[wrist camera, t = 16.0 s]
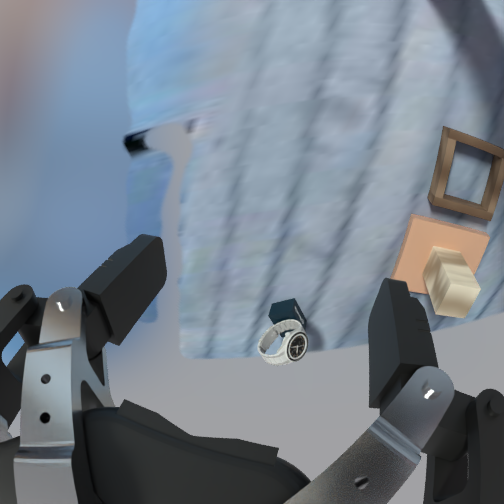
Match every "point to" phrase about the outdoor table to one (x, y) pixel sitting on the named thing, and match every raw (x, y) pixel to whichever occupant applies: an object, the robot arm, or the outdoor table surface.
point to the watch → (285, 333)
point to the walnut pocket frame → (499, 171)
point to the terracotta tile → (440, 235)
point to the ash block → (450, 283)
